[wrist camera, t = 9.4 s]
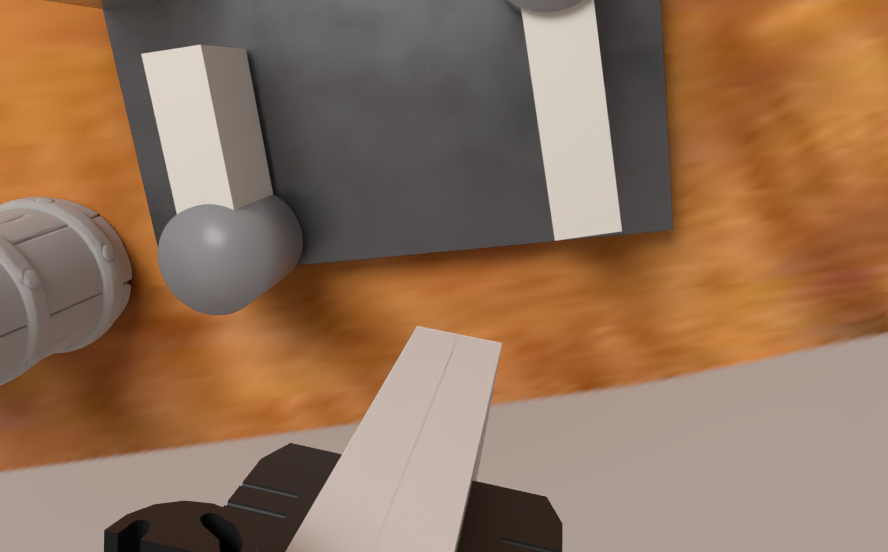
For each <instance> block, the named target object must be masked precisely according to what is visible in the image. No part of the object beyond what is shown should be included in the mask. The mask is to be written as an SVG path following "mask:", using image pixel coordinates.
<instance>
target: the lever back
mask: <svg viewBox="0 0 888 552" xmlns="http://www.w3.org/2000/svg"><path fill="white" fill-rule="evenodd" d="M141 55H142V60H143V64H144V69H145V73H146V78H147V82H148V87H149V91H150V96H151V100H152V105H153V109H154V114H155V118H156V123H157V127H158V132H159V136H160V141H161V145H162V150H163V154H164V159H165V163H166V168H167V172H168V177H169V181H170V186H171V190H172V195H173V199H174V204H175V208H176V213H177V215H176V216H174V217H173V218H172V219H171V220H170V221H169V222H168V224H167V225H166V226H165V228H164V230H163V232H162V234H161V237H160V241H159V245H158V262H159V267H160V270H161V274H162V276H163V278H164V281H165V282H166V284H167V286H168V287H169V289H170V290H171V291H172V293H173V294H174V295H175V296H176V297H177V298H178V299H179V300H180V301H181V302H183V303H184V304H185V305H187V306H188V307H190V308H192V309H194V310H196V311H199V312H201V313H205V314H210V315H226V314H230V313H234V312H236V311H239V310H241V309H242V308H244V307H245V306H247V305H248V304H250V303H251V302H252V301H254V300H255V299H256V298H258V297H259V296H261V295H262V294H263V293H265V292H266V291H267V290H269V289H270V288H272V287H273V286H274V285H276V284H277V283H278V282H280V281H281V280H282V279H284V278H285V277H287V276H288V275H289V274H290V273H291V272H292V271H293V270H294V268H295V267H296V265H297V264H298V262H299V259H300V257H301V253H302V247H303V237H302V231H301V227H300V224H299V221H298V219H297V217H296V215H295V214H294V212H293V211H292V210H291V208H290V207H289V206H288V205H287V204H286V203H285V202H284V201H283V200H281V199H280V198H279V197H277V196H275V195H273V191H272V186H271V180H270V175H269V170H268V164H267V159H266V154H265V148H264V143H263V138H262V132H261V127H260V122H259V116H258V111H257V106H256V101H255V95H254V90H253V85H252V79H251V74H250V69H249V63H248V58H247V53H246V49H244V48H233V47H221V46H210V45H195V46H189V47H182V48H176V49H169V50H163V51H157V52H150V53H144V54H141Z"/></svg>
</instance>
